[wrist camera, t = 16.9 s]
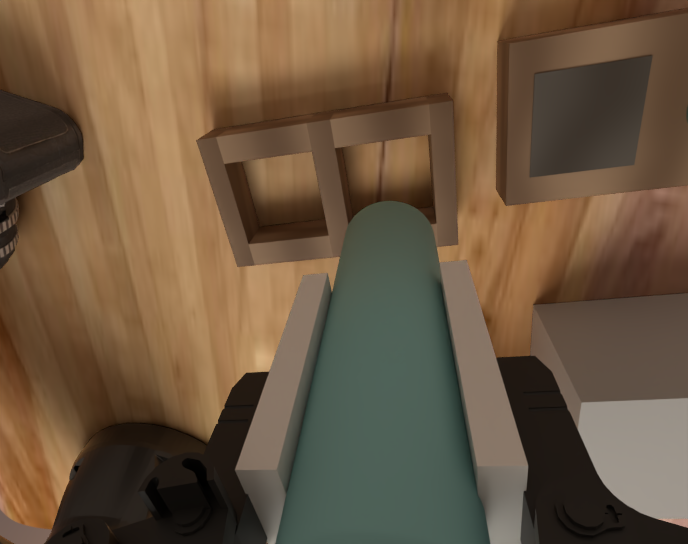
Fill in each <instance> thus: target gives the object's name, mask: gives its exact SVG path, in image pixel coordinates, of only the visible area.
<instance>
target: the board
mask: <svg viewBox="0 0 688 544" xmlns="http://www.w3.org/2000/svg"><path fill="white" fill-rule="evenodd" d="M686 185H688V8H685V9H679V10H674V11H668V12H662V13H656V14H651V15H645V16H639V17H633V18H628V19H622V20H616V21H610V22H604V23H599V24H593V25H587V26H581V27H576V28H570V29H564V30H558V31H553V32H547V33H541V34H535V35H529V36H524V37H518V38H512V39H506V40H501V41H498V47H497V148H496V190H497V192H498V193H499V195H500V197H501V198H502V200H503V202H504V203H505V205H506V206H509V205H518V204H526V203H535V202H544V201H553V200H562V199H571V198H579V197H588V196H597V195H606V194H615V193H624V192H633V191H641V190H650V189H659V188H668V187H677V186H686Z"/></svg>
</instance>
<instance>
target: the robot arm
mask: <svg viewBox="0 0 688 544" xmlns="http://www.w3.org/2000/svg"><path fill="white" fill-rule="evenodd" d="M440 278H441V287H442V293H443V299H444V305H445V310H446V316H447V322H448V327H449V333H450V339H451V344H452V350H453V356H454V362H455V367H456V373H457V379H458V384H459V390H460V396H461V401H462V407H463V413H464V419H465V424H466V430H467V436H468V441H469V447H470V453H471V459H472V464H473V470H474V476H475V481H476V487H477V493H478V496H479V498H480V499H481V501H482V504H483V507H484V510H485V516H486V521H487V527H488V532H489V538H490V543H491V544H688V528H686V527H683V526H679V525H676V524H672V523H669V522H665V521H662V520H658V519H655V518H653V517H650V516H647V515H645V514H642V513H640V512H638V511H636V510H635V509H633V508H631V507H629V506H627V505H626V504H625V503H623V502H622V501H621V500H620V499H618V498H617V497H616V496H614V495H613V494H612V493H611V491H610V490H609V489H608V488H607V487H606V486H605V485H604V484H603V482H602V480H601V479H600V477H599V475H598V474H597V472H596V469H595V467H594V465H593V463H592V460H591V458H590V456H589V454H588V451H587V449H586V447H585V445H584V442H583V440H582V438H581V436H580V433H579V431H578V429H577V427H576V424H575V422H574V420H573V418H572V416H571V413H570V411H568V408H567V404H566V402H565V400H564V398H563V395H562V394H561V393H560V389H559V386H558V384H557V382H556V380H555V377H554V375H553V373H552V371H551V370H550V369H549V368H548V367H547V366H545V365H544V364H543V363H542V362H541V361H540V360H539V359H538V358H537V357H536V356H520V357H502V358H496V356H495V353H494V350H493V346H492V343H491V340H490V336H489V333H488V330H487V326H486V323H485V320H484V316H483V313H482V310H481V306H480V303H479V300H478V296H477V293H476V290H475V286H474V283H473V280H472V276H471V273H470V269H469V266H468V263H467V260H461V261H451V262H440ZM331 295H332V291H331V287H330V282H329V277H328V273H321V274H311V275H303V277H302V280H301V283H300V286H299V289H298V291H297V294H296V297H295V300H294V303H293V306H292V309H291V311H290V314H289V317H288V320H287V323H286V326H285V329H284V331H283V334H282V337H281V340H280V343H279V346H278V349H277V351H276V354H275V357H274V360H273V363H272V366H271V369H270V371H269V372H254V373H246V374H245V375H244V376H243V377H242V378H241V379H240V380H239V381H238V382H237V384H236V385H235V386H234V387H233V388H232V390H231V392H230V394H229V396H228V399H227V401H226V403H225V409H223V410H222V413H221V415H220V417H219V419H218V424H216V426H215V429H214V431H213V433H212V436H211V438H210V440H209V442H208V445H205V444H204V443H202V442H200V441H198V440H197V439H195V438H193V437H191V436H188V435H186V434H184V433H181V432H178V431H176V430H173V429H169V428H165V427H161V426H156V425H150V424H138V423H131V424H120V425H115V426H111V427H108V428H105V429H103V430H101V431H100V432H98V433H96V434H95V435H94V436H93V437H92V438H91V439H90V440H89V442H88V443H87V444H86V446H85V447H84V449H83V450H82V451H81V453H80V454H79V456H78V457H77V459H76V460H75V462H74V464H73V466H72V469H71V473H70V481H69V483H68V485H67V487H66V490H65V492H64V495H63V498H62V501H61V504H60V507H59V510H58V513H57V516H56V519H55V522H54V525H53V528H52V531H51V533H50V535H49V537H48V539H47V540H46V542H45V543H44V544H266V542H268V544H275V543H276V538H277V534H278V529H279V525H280V521H281V516H282V512H283V507H284V503H285V498H286V494H287V490H288V485H289V481H290V476H291V472H292V468H293V463H294V459H295V454H296V450H297V445H298V441H299V437H300V432H301V428H302V423H303V419H304V415H305V410H306V406H307V401H308V397H309V392H310V388H311V384H312V379H313V375H314V370H315V366H316V361H317V357H318V353H319V348H320V344H321V339H322V335H323V331H324V326H325V322H326V317H327V313H328V308H329V304H330V300H331ZM0 544H14V543H12V542H10V541H9V540H7V539H5V538H3V537H2V536H0Z"/></svg>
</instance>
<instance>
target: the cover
mask: <svg viewBox="0 0 688 544" xmlns="http://www.w3.org/2000/svg"><path fill="white" fill-rule="evenodd" d="M530 356H536V357H537V358H538V359H539V360H540V361H541V362H542V363H543V364H544V365H545V366H547V367H548V368H549V369H550V370H551V371H552V373H553V375H554V377H555V380H556V382H557V384H558V386H559V389H560V393H561V394H562V395H563V398H564V400H565V402H566V404H567V408H568V411H570V413H571V416H572V418H573V420H574V422H575V424H576V427H577V429H578V431H579V433H580V436H581V438H582V440H583V442H584V445H585V447H586V449H587V451H588V454H589V456H590V458H591V460H592V463H593V465H594V467H595V469H596V472H597V474H598V475H599V477H600V479H601V480H602V482H603V484H604V485H605V486H606V487H607V488H608V489H609V490H610V491H611V493H612V494H613V495H614V496H616V497H617V498H618V499H620V500H621V501H622V502H623V503H625V504H626V505H627V506H629V507H631V508H633V509H635V510H636V511H638V512H640V513H642V514H645V515H647V516H650V517H653V518H655V519H688V293H681V294H668V295H655V296H642V297H629V298H616V299H603V300H590V301H577V302H564V303H551V304H538V305H533V318H532V334H531V351H530Z"/></svg>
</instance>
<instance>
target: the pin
mask: <svg viewBox="0 0 688 544" xmlns="http://www.w3.org/2000/svg"><path fill="white" fill-rule="evenodd" d="M275 544H491V543H490V538H489V532H488V527H487V521H486V516H485V510H484V507H483V504H482V501H481V499H480V498H479V496H478V493H477V487H476V481H475V476H474V470H473V464H472V459H471V453H470V447H469V441H468V436H467V430H466V424H465V419H464V413H463V407H462V401H461V396H460V390H459V384H458V379H457V373H456V367H455V362H454V356H453V350H452V344H451V339H450V333H449V327H448V322H447V316H446V310H445V305H444V299H443V293H442V287H441V278H440V263H439V258H438V252H437V247H436V241H435V236H434V232H433V228H432V226H431V224H430V222H429V221H428V219H427V218H426V217H425V215H424V214H423V213H421V212H420V211H419V210H418V209H416V208H415V207H413V206H411V205H409V204H406V203H403V202H398V201H382V202H377V203H374V204H371V205H369V206H367V207H365V208H363V209H362V210H361V211H359V212H358V213H357V214H356V215H355V216H354V217H353V219H352V220H351V221H350V223H349V225H348V227H347V230H346V233H345V238H344V242H343V247H342V251H341V255H340V260H339V264H338V269H337V273H336V278H335V282H334V286H333V291H332V295H331V300H330V304H329V308H328V313H327V317H326V322H325V326H324V331H323V335H322V339H321V344H320V348H319V353H318V357H317V361H316V366H315V370H314V375H313V379H312V384H311V388H310V392H309V397H308V401H307V406H306V410H305V415H304V419H303V423H302V428H301V432H300V437H299V441H298V445H297V450H296V454H295V459H294V463H293V468H292V472H291V476H290V481H289V485H288V490H287V494H286V498H285V503H284V507H283V512H282V516H281V521H280V525H279V529H278V534H277V538H276V543H275Z"/></svg>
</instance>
